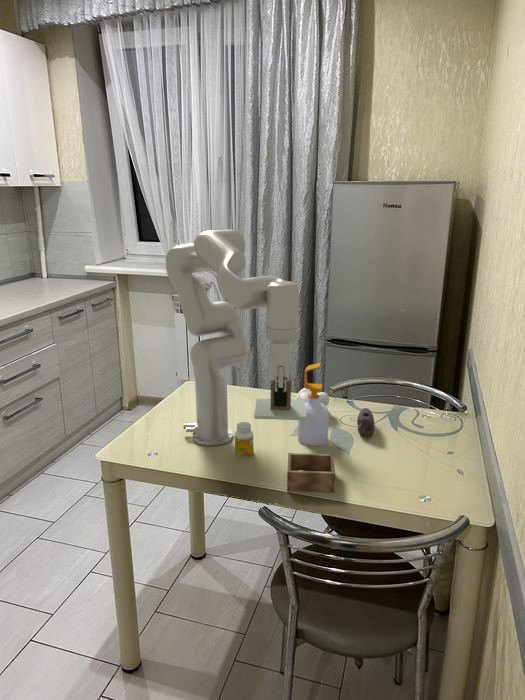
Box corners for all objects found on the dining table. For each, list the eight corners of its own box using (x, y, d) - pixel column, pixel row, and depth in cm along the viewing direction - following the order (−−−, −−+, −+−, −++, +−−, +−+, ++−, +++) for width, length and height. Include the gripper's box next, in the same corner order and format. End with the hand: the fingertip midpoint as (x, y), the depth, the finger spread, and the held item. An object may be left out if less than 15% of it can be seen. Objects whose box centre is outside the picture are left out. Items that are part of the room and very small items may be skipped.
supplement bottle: (232, 458, 152) (231, 427, 149) (239, 449, 157) (238, 419, 154) (249, 461, 150) (249, 430, 147) (256, 452, 155) (256, 422, 152)
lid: (254, 418, 129) (254, 389, 127) (256, 401, 139) (256, 373, 137) (306, 420, 129) (307, 390, 126) (304, 402, 139) (305, 374, 136)
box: (287, 492, 134) (287, 471, 133) (288, 472, 144) (288, 452, 142) (334, 494, 134) (335, 473, 132) (332, 474, 143) (333, 454, 141)
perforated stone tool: (357, 420, 176) (358, 401, 174) (373, 421, 176) (374, 402, 174) (356, 440, 162) (357, 419, 160) (373, 442, 161) (375, 421, 159)
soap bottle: (326, 448, 158) (329, 370, 150) (296, 445, 159) (297, 368, 152) (328, 435, 166) (331, 360, 159) (300, 432, 168) (301, 358, 160)
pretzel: (285, 416, 180) (285, 391, 177) (306, 405, 189) (306, 382, 186) (312, 425, 173) (312, 399, 170) (332, 414, 182) (333, 389, 179)
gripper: (267, 323, 135) (266, 390, 141) (265, 342, 120) (264, 416, 126) (296, 324, 135) (294, 391, 141) (298, 343, 120) (295, 417, 125)
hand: (280, 402), depth 133 cm, fingers closed on lid, 3 cm apart
